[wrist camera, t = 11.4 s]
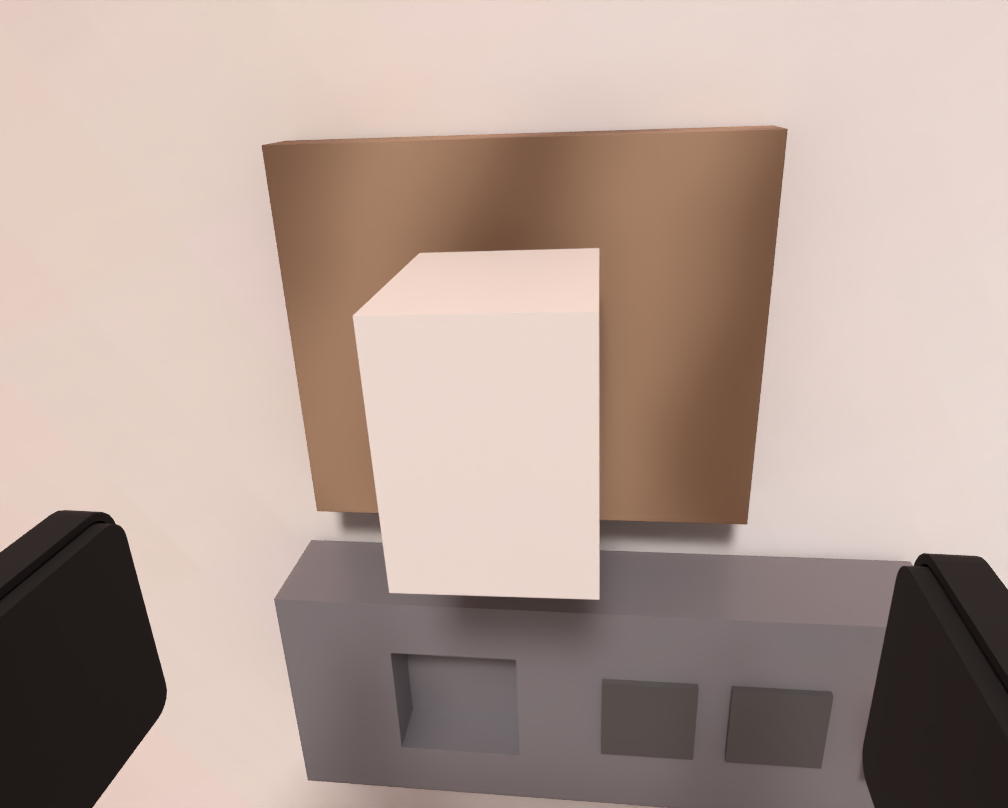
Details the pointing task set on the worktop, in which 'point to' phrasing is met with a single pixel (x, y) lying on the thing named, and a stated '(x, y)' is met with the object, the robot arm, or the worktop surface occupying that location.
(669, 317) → the pad
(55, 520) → the robot arm
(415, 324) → the block
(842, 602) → the power strip
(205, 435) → the worktop surface
